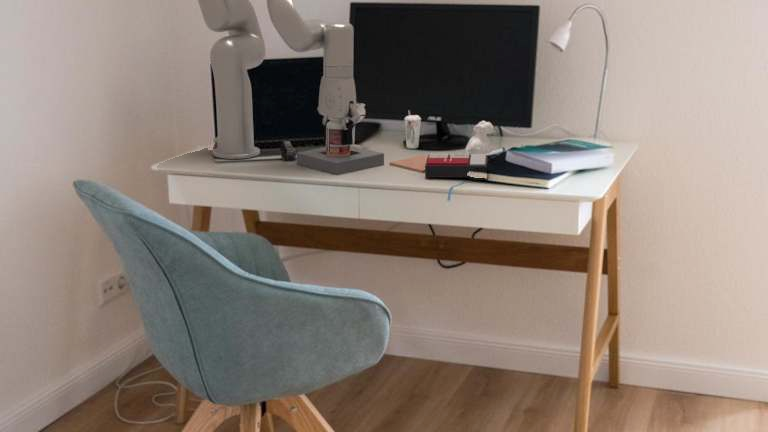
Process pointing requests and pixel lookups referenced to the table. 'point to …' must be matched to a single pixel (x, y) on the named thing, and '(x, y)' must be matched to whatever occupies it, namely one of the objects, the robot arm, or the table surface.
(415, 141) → the milkshake
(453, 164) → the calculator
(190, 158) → the table surface
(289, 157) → the wristwatch
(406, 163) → the tile
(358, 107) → the wineglass
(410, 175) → the table surface
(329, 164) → the block
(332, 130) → the pill bottle
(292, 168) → the table surface
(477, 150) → the bust
